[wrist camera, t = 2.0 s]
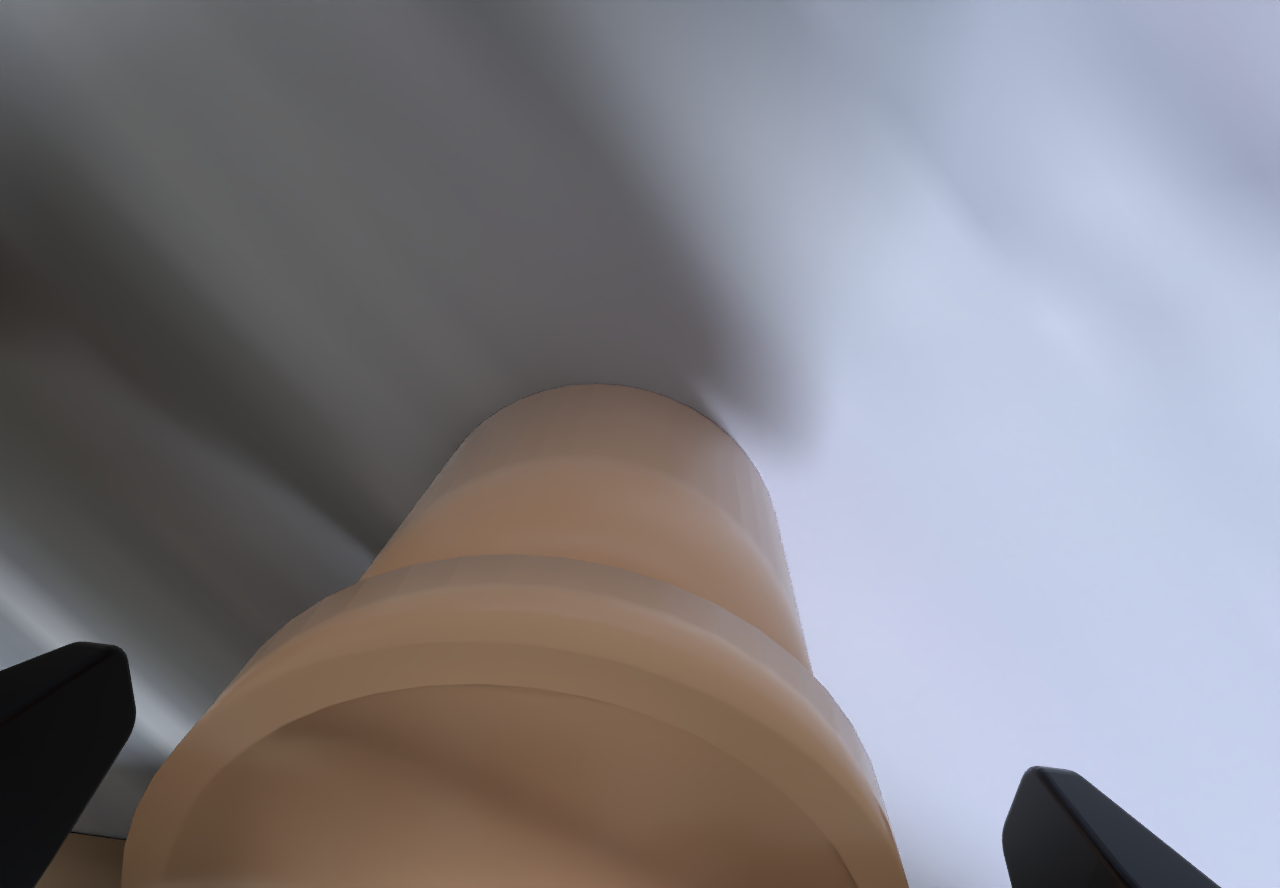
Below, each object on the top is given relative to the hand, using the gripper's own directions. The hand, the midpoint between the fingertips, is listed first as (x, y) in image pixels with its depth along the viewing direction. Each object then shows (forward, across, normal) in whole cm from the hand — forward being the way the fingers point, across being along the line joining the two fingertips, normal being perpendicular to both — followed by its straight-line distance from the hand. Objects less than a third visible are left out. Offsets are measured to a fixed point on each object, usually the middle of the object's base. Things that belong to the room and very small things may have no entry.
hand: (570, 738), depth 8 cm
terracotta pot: (+4, 0, 0) cm, 4 cm away
